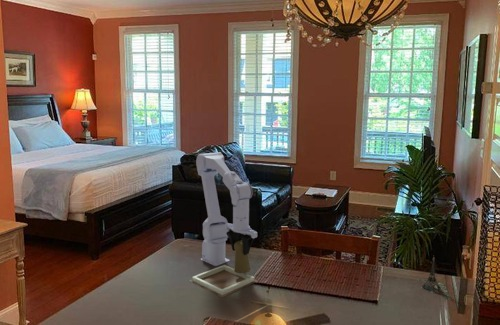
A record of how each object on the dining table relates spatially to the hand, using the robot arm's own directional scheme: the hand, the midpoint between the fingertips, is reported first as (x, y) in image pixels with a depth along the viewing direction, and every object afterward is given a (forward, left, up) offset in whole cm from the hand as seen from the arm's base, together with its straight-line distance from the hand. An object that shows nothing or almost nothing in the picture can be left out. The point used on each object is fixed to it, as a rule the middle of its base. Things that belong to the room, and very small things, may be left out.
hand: (240, 252), depth 171 cm
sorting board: (-2, -6, -10) cm, 12 cm away
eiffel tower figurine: (+54, +43, -11) cm, 70 cm away
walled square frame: (-2, -6, -10) cm, 12 cm away
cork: (0, +1, -7) cm, 7 cm away
